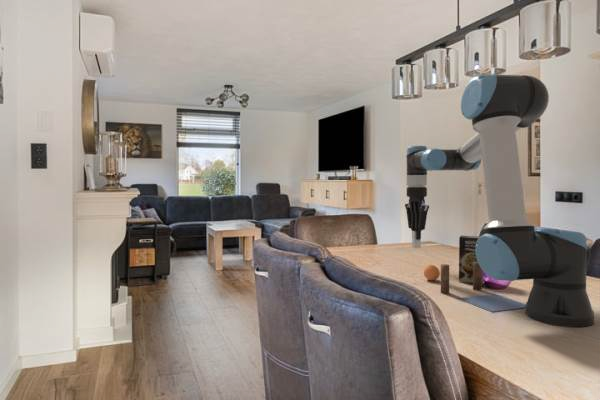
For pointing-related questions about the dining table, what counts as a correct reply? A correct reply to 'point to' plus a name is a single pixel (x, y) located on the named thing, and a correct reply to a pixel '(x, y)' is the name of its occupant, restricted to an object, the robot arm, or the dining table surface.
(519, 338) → the dining table surface
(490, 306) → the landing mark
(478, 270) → the post right
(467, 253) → the coffee box
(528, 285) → the dining table surface
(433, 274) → the ball
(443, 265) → the post left
